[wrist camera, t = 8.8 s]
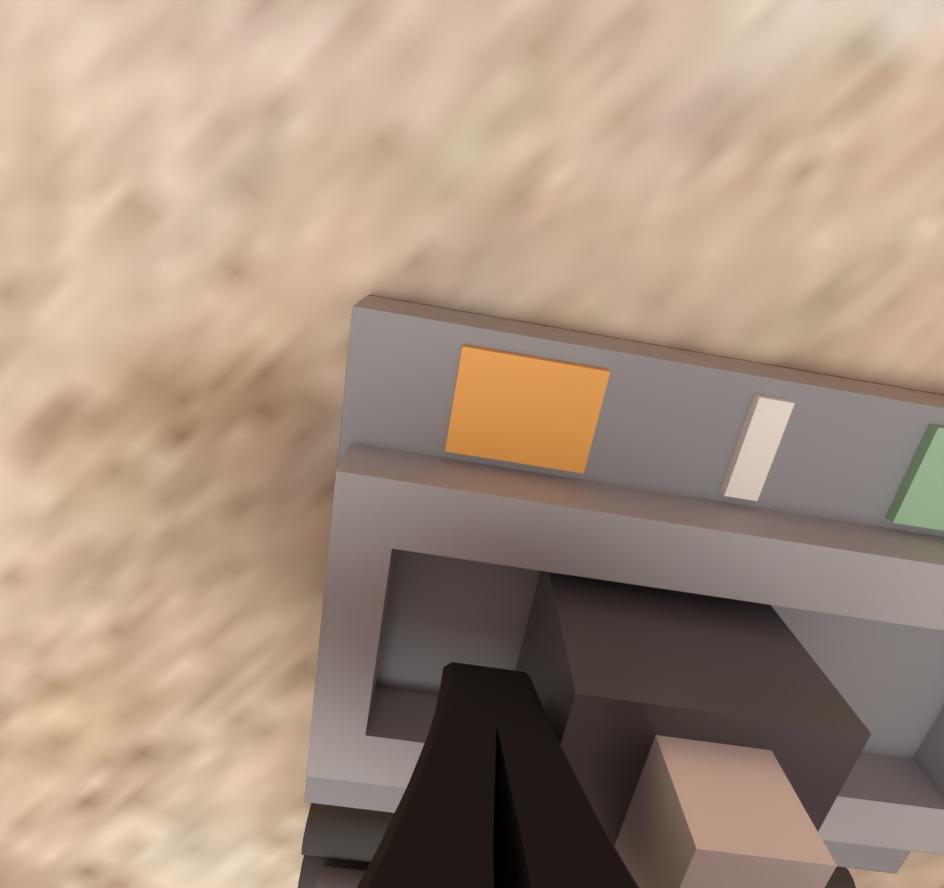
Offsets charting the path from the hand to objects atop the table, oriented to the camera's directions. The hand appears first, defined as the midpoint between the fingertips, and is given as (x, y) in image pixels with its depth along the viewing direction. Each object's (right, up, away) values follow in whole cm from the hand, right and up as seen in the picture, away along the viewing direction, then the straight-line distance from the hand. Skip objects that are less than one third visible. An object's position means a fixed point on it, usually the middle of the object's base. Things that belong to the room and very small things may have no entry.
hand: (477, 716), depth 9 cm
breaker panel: (+4, +1, +4) cm, 6 cm away
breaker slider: (+3, 0, +2) cm, 4 cm away
